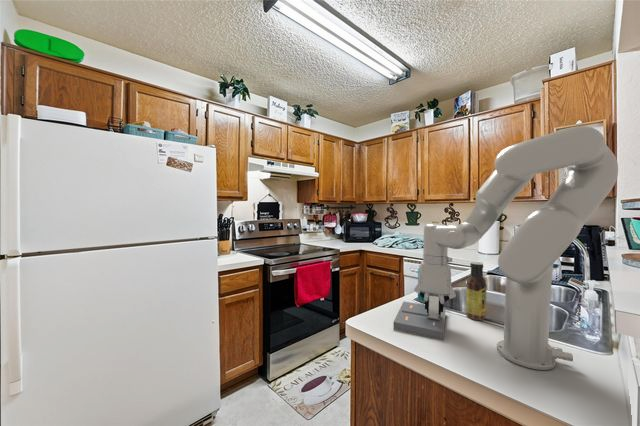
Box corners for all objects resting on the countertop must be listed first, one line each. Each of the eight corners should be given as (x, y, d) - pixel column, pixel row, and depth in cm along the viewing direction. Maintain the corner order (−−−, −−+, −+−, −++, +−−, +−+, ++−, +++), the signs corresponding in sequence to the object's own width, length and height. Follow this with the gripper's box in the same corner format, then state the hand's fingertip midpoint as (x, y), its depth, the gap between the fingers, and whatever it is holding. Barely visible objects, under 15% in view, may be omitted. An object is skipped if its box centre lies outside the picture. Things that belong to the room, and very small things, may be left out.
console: (445, 314, 97) (445, 308, 97) (443, 340, 80) (443, 331, 79) (403, 307, 104) (403, 301, 104) (393, 329, 86) (393, 321, 86)
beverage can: (429, 299, 113) (430, 264, 113) (434, 304, 108) (434, 268, 107) (416, 298, 114) (416, 264, 113) (419, 303, 108) (420, 267, 108)
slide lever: (440, 314, 91) (441, 292, 91) (439, 320, 87) (440, 297, 86) (428, 312, 93) (428, 291, 93) (426, 317, 89) (427, 295, 88)
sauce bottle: (485, 322, 91) (487, 266, 90) (465, 318, 94) (466, 264, 94) (485, 315, 97) (487, 262, 96) (466, 312, 100) (467, 260, 99)
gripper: (461, 260, 89) (460, 313, 89) (411, 255, 96) (410, 304, 97) (462, 264, 82) (461, 322, 83) (408, 259, 89) (407, 312, 90)
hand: (433, 312), depth 90 cm, fingers closed on slide lever, 3 cm apart
